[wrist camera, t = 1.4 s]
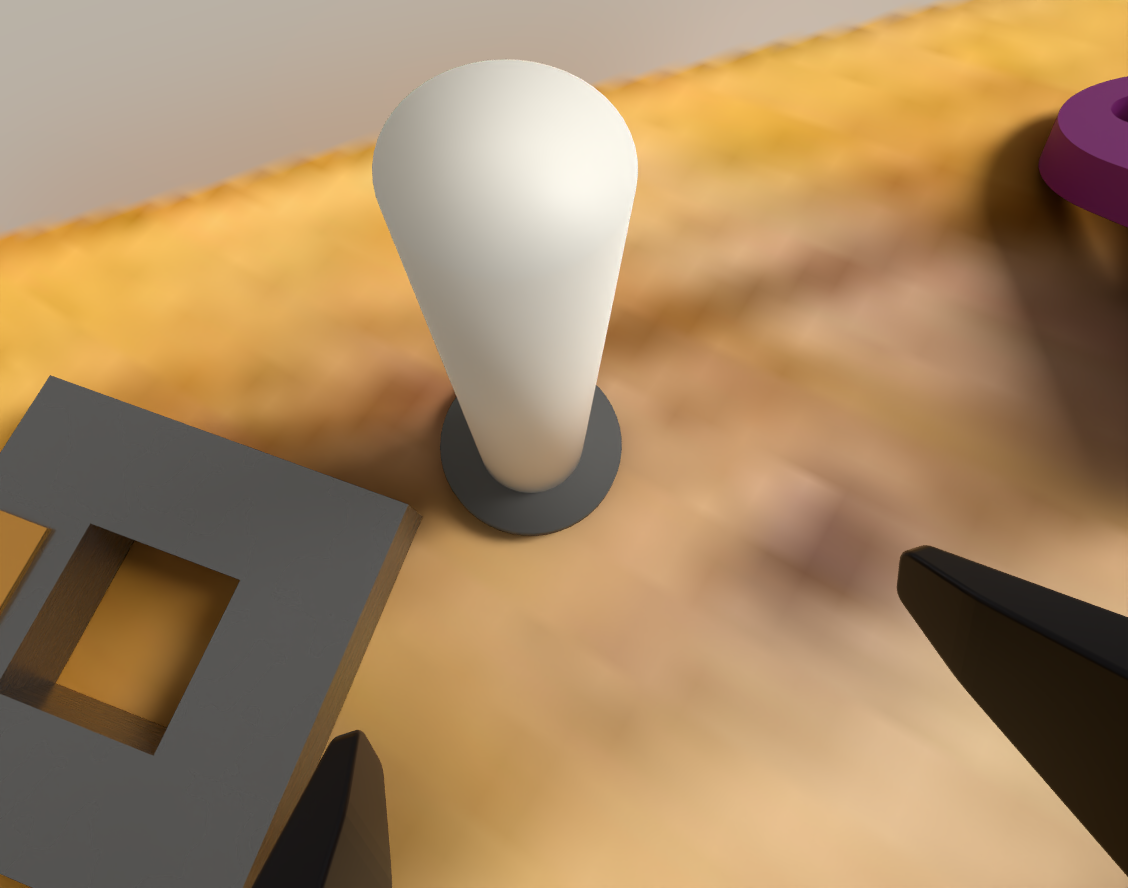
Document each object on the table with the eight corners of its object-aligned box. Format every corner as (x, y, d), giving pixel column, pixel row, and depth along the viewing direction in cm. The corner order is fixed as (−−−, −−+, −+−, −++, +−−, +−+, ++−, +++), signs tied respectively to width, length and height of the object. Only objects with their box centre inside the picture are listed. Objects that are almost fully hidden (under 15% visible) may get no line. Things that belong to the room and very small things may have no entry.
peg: (562, 507, 23) (588, 316, 9) (463, 472, 23) (326, 230, 9) (596, 412, 24) (670, 102, 10) (501, 380, 24) (434, 30, 10)
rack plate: (250, 922, 20) (206, 967, 17) (-124, 764, 21) (-220, 785, 18) (422, 516, 24) (407, 503, 21) (98, 399, 24) (45, 373, 22)
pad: (586, 561, 23) (587, 559, 22) (415, 500, 24) (411, 495, 23) (641, 398, 25) (644, 391, 24) (482, 344, 26) (480, 336, 25)
